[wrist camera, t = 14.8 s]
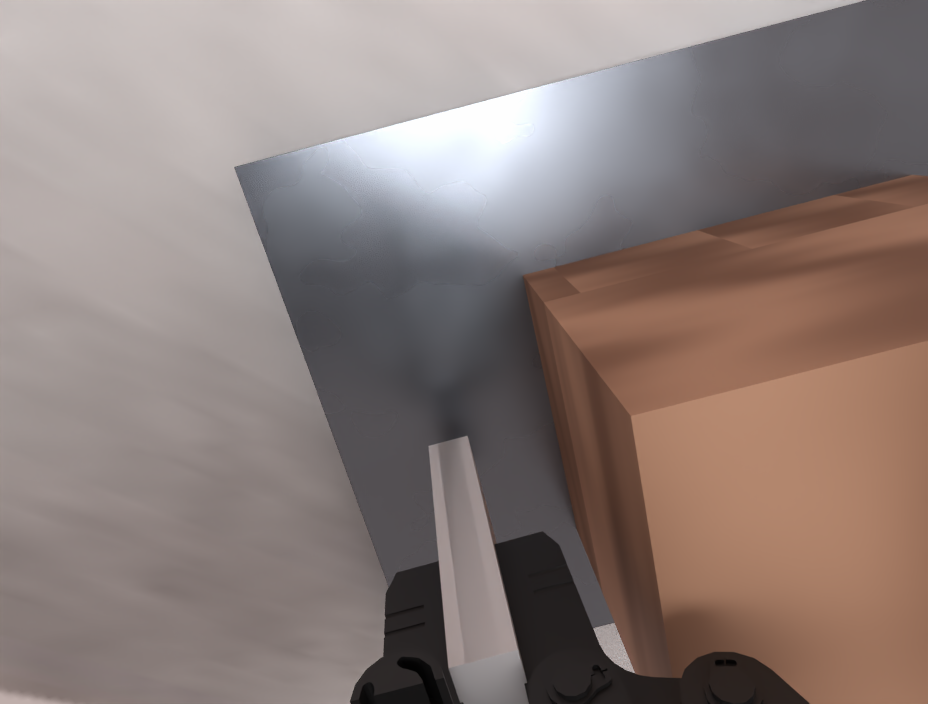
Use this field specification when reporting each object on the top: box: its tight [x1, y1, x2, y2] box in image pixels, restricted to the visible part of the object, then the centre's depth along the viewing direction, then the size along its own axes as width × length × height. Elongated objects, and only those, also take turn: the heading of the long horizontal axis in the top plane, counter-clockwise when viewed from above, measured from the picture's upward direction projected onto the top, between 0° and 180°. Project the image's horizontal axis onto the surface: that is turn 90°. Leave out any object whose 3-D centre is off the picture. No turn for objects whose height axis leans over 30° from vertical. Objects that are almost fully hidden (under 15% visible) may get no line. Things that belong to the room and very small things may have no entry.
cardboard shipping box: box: [523, 175, 928, 704], centre depth 13 cm, size 10×8×8 cm
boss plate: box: [234, 0, 928, 628], centre depth 16 cm, size 17×16×3 cm
